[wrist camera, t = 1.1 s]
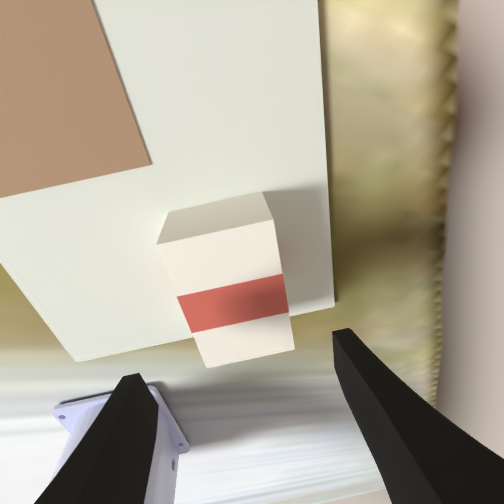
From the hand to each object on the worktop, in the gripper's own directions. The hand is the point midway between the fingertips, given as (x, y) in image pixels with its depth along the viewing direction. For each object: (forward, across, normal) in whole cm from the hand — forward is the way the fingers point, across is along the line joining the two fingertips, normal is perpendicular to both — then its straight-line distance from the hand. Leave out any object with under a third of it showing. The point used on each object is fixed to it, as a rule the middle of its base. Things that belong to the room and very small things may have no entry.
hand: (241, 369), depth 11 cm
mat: (+8, +3, -6) cm, 10 cm away
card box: (+7, 0, 0) cm, 7 cm away
